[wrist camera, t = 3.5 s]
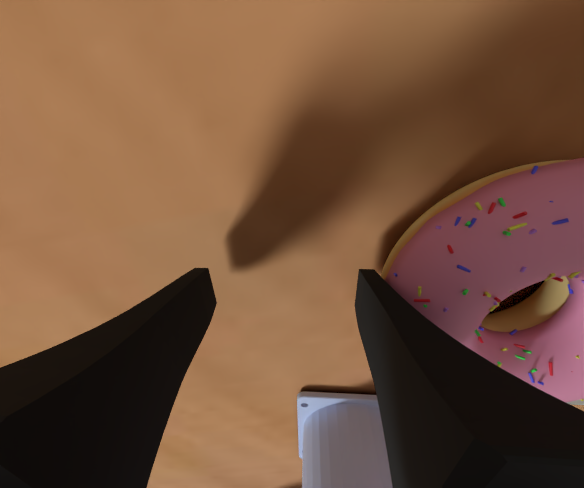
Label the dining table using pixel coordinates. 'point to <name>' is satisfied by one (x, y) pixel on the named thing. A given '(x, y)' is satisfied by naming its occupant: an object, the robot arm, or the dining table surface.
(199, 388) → the dining table surface
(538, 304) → the doughnut
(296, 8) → the dining table surface
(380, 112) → the dining table surface
